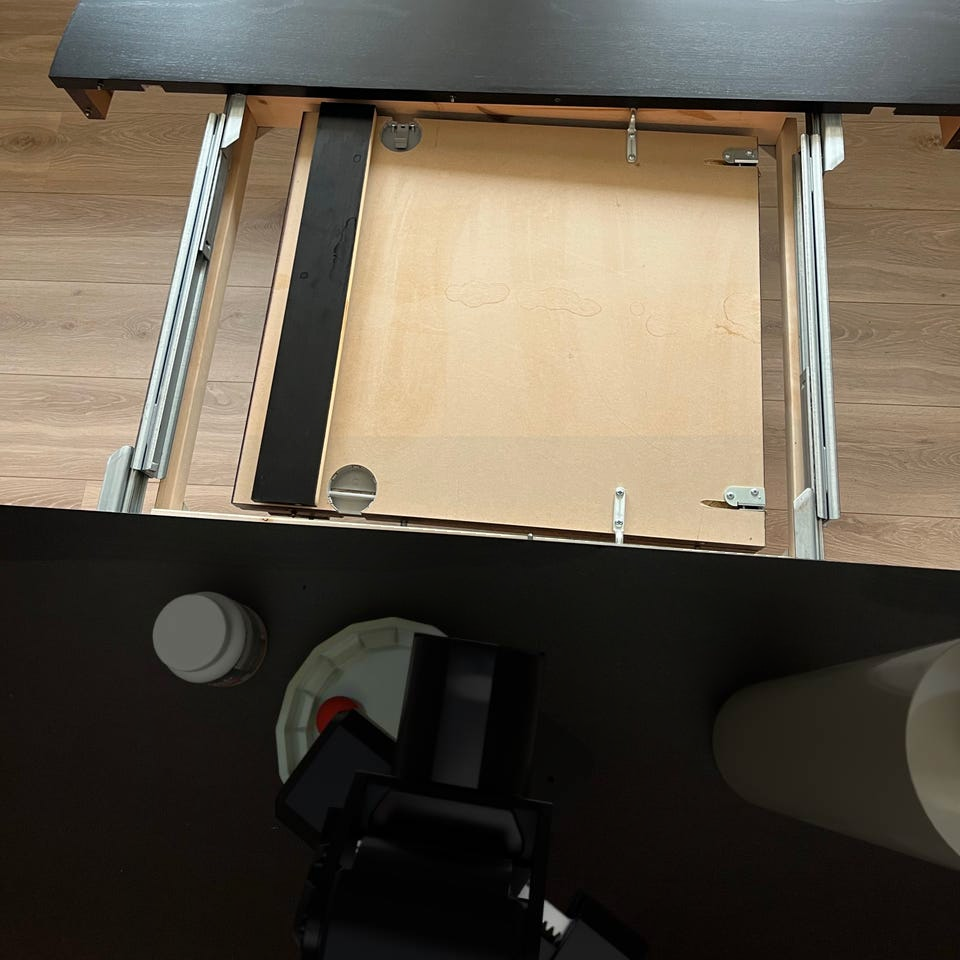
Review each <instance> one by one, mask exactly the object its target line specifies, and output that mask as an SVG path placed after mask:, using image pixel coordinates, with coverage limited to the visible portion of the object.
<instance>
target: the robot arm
mask: <svg viewBox="0 0 960 960" xmlns="http://www.w3.org/2000/svg"><path fill="white" fill-rule="evenodd" d="M546 660H547V652H544V651H540V650H533V649H527V648H522V647H521V648H519V647H516V646H515V647H514V646H509V645H508V646H507V645H501V644H496V643H489V642H483V641H477V640H471V639H463V638H458V637H457V638H456V637H449V636H448V637H443V636H437V635H430V634H424V633H417V632H414V637H413V643H412V650H411V656H410V662H409V668H408V674H407V680H406V687H405V692H404V698H403V704H402V710H401V716H400V722H399V728H398V734H397V739H396V738H394V737H393V736H392V735H391V734H389V733H388V732H387V731H386V730H384V729H383V728H382V727H381V726H379V725H378V724H377V723H376V722H374V721H373V720H372V719H371V718H369V717H368V716H367V715H366V714H364V713H363V712H362V711H361V710H359V709H355V708H353V709H347V710H342V711H338V712H337V713H336V715H335V716H334V717H333V718H332V719H331V720H330V721H329V722H328V724H327V725H326V726H325V728H324V729H323V731H322V732H321V733H320V735H319V736H318V738H317V739H316V740H315V742H314V743H313V744H312V746H311V747H310V749H309V750H308V751H307V753H306V754H305V756H304V757H303V758H302V760H301V761H300V762H299V764H298V765H297V767H296V768H295V769H294V771H293V772H292V774H291V775H290V776H289V778H288V779H287V780H286V782H285V783H284V784H282V785H281V787H280V789H279V791H278V792H277V795H276V797H275V799H274V817H275V819H277V821H279V822H280V823H281V824H282V825H284V827H286V828H287V829H288V830H290V831H291V832H292V833H293V834H294V835H295V836H296V837H298V838H299V839H300V840H301V841H302V842H303V843H304V844H306V845H307V846H308V847H309V848H310V849H311V850H313V851H314V853H313V856H312V860H311V863H310V866H309V868H308V872H307V876H306V879H305V882H304V885H303V887H302V891H301V894H300V897H299V900H298V903H297V907H296V910H295V915H294V919H293V924H292V925H293V926H292V938H293V940H294V942H295V944H296V946H297V947H298V949H299V956H300V960H653V959H652V955H651V948H650V944H649V942H648V941H647V939H646V938H645V937H644V936H643V935H642V934H640V933H639V932H638V931H637V930H635V929H634V928H633V927H632V926H630V925H629V924H628V923H626V921H624V920H623V919H621V917H619V916H618V915H617V914H615V913H614V912H613V911H612V910H611V909H609V908H608V907H607V906H605V905H604V904H603V903H602V902H600V901H599V900H597V899H596V898H594V897H593V896H592V895H590V894H589V893H587V892H586V891H585V890H584V889H583V888H579V889H578V890H577V891H576V892H575V893H574V894H573V895H572V896H570V897H569V898H568V900H566V901H565V902H564V903H563V904H562V905H561V906H560V907H556V906H555V905H554V904H552V903H551V902H550V901H549V900H548V899H546V888H547V878H548V868H549V867H548V866H549V856H550V854H551V853H552V852H553V850H554V848H555V847H556V845H557V840H556V834H555V831H556V830H557V829H558V828H559V827H560V825H561V824H562V822H563V820H564V818H565V817H566V816H567V814H568V812H569V810H570V809H571V808H572V805H573V804H574V803H575V801H576V799H577V797H578V796H579V794H580V792H581V791H582V790H583V787H584V786H585V784H586V782H587V781H588V779H589V778H590V776H591V774H592V772H593V770H594V765H595V759H594V754H593V752H592V750H591V748H590V747H589V746H588V745H587V743H586V742H584V741H583V740H582V739H581V738H580V737H578V736H577V735H575V734H574V733H573V732H571V731H570V730H569V729H567V728H566V727H565V726H564V725H562V724H561V723H559V722H558V721H557V720H555V719H554V718H553V717H551V716H550V715H549V714H548V713H546V712H545V711H544V710H543V709H541V701H542V693H543V685H544V684H543V683H544V677H545V669H546ZM356 849H358V851H357V852H356Z"/></svg>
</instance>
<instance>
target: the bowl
mask: <svg viewBox="0 0 960 960" xmlns="http://www.w3.org/2000/svg"><path fill="white" fill-rule="evenodd" d="M414 632H417V633H424V634H430V635H437V636H443V637H449V636H448V635H447V634H446V633H444V632H443V631H442V630H440V629H439V628H438V627H436V626H434V625H432V624H426V623H422V622H417V621H414V620H409V619H405V618H401V617H397V616H390V617H389V616H388V617H383V618H377V619H372V620H367V621H361V622H355V623H352V624H349V625H347V626H346V627H345V628H343V629H342V630H340V631H338V632H337V633H335V634H334V635H332V636H330V637H329V638H327V639H325V640H324V641H323V642H321V643H320V644H317V645H316V646H315V647H314V648H313V649H312V651H311V652H310V654H309V655H308V656H307V657H306V659H305V660H304V662H303V663H302V664H301V665H300V666H299V669H298V670H296V671H295V674H294V675H293V676H292V678H291V679H290V681H289V682H288V684H287V686H286V690H285V693H284V696H283V700H282V704H281V708H280V711H279V715H278V718H277V721H276V725H275V731H274V732H275V740H276V752H277V763H278V775H279V778H280V780H281V782H282V785H284V783H285V782H286V780H287V779H288V778H289V776H290V775H291V774H292V772H293V771H294V769H295V768H296V767H297V765H298V764H299V762H300V761H301V760H302V758H303V757H304V756H305V754H306V753H307V751H308V750H309V749H310V747H311V746H312V744H313V743H314V742H315V740H316V739H317V738H318V736H319V735H320V734H319V732H318V730H317V726H316V716H317V712H318V710H319V708H320V706H321V705H322V704H323V703H324V702H325V701H326V700H327V699H329V698H331V697H335V696H345V697H348V698H350V699H351V700H353V701H354V702H355V703H356V705H357V706H358V708H359V710H361V711H362V712H363V713H364V714H366V715H367V716H368V717H369V718H371V719H372V720H373V721H374V722H376V723H377V724H378V725H379V726H381V727H382V728H383V729H384V730H386V731H387V732H388V733H389V734H391V735H392V736H393V737H394V738H396V739H397V734H398V728H399V722H400V716H401V710H402V704H403V698H404V692H405V687H406V680H407V674H408V668H409V662H410V656H411V650H412V643H413V637H414ZM357 851H358V849H356V853H357Z"/></svg>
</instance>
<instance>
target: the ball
mask: <svg viewBox="0 0 960 960" xmlns="http://www.w3.org/2000/svg"><path fill="white" fill-rule="evenodd" d="M353 708H355V709H359V708H358V706H357V705H356V703H355V702H354V701H353V700H351V699H350V698H348V697H345V696H335V697H331V698H329V699H327V700H326V701H325V702H324V703H323V704H322V705H321V706H320V708H319V710H318V712H317V716H316V726H317V730H318V732H319V734H320V733H321V732H322V731H323V729H324V728H325V726H326V725H327V724H328V722H329V721H330V720H331V719H332V718H333V717H334V716H335V715H336V713H337V712H338V711H342V710H347V709H353Z"/></svg>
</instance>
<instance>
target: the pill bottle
mask: <svg viewBox="0 0 960 960" xmlns="http://www.w3.org/2000/svg"><path fill="white" fill-rule="evenodd" d="M152 643H153V648H154V650H155V653H156V655H157V656H158V658H159V659H160V661H161V662H162V663H163V664H165V665H166V666H167V668H168V669H169V670H170V671H171V672H172V673H173V674H174V676H177V677H178V678H180V679H182V680H184V681H185V682H189V683H194V684H201V685H207V686H214V687H233V686H236V685H239V684H241V683H244V682H245V681H247V680H249V679H250V678H251V677H252V676H253V675H254V674H256V673H257V671H258V670H259V669H260V667H261V665H262V663H263V662H264V659H265V657H266V653H267V649H268V635H267V630H266V627H265V625H264V623H263V620H262V618H261V617H260V616H259V615H258V614H257V613H256V612H255V611H254V610H253V609H252V608H250V607H249V606H246V605H245V604H243V603H242V602H238V601H236V600H234V599H232V598H230V597H229V596H226V595H223V594H220V593H218V592H213V591H199V592H195V593H190V594H184V595H180V596H178V597H176V598H174V599H172V600H171V601H170V602H168V603H167V604H166V605H165V606H164V607H163V609H162V610H161V611H160V613H159V614H158V615H157V617H156V619H155V622H154V625H153V629H152Z"/></svg>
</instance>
